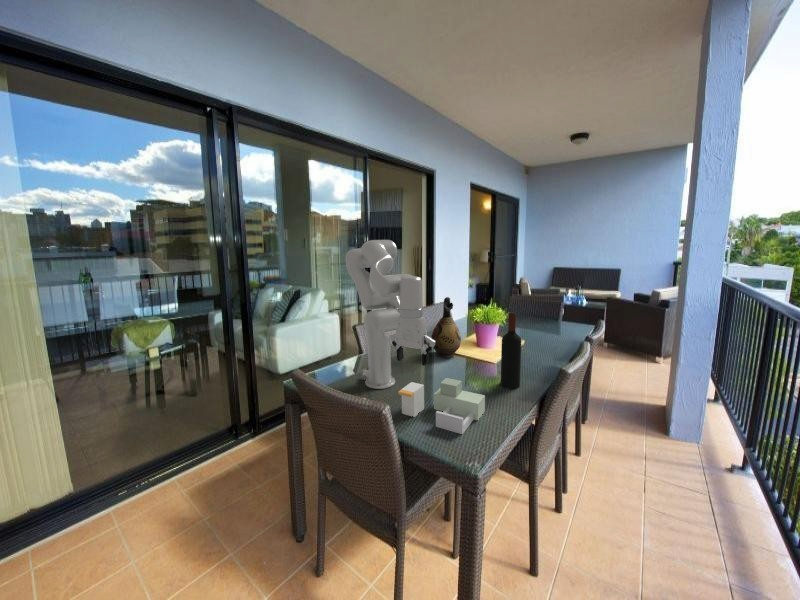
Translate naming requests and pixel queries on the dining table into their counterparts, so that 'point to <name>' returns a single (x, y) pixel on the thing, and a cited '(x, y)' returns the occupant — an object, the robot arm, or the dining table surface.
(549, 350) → the dining table surface
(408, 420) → the dining table surface
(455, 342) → the ceramic jug
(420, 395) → the orange-topped white box
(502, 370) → the wine bottle
